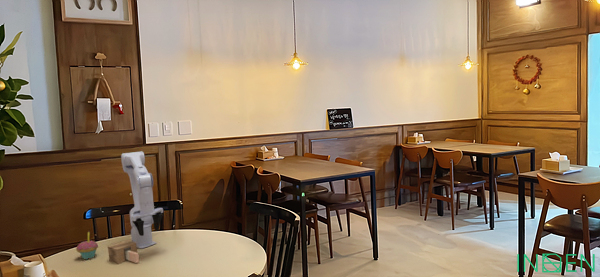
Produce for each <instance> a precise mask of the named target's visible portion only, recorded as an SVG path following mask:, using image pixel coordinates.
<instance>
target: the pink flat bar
mask: <svg viewBox="0 0 600 277" xmlns="http://www.w3.org/2000/svg"><path fill="white" fill-rule="evenodd" d="M124 256H125V261H129V262H132V263H135V264H138V263H139V262H140V259H139V257H140V256H139V253H138V252H137V253H136V252H133V251H129V250H127V251H124Z"/></svg>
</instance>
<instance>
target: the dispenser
mask: <svg viewBox="0 0 600 277" xmlns="http://www.w3.org/2000/svg"><path fill="white" fill-rule="evenodd" d="M137 249H138V247H137V245H136V243H135V242H132V240H128V239H126V240H123V241H120V242H118V243H115V244H112V245H111V244H110V245H108V246H107V252H108V261H109V262H112V263H116V264H117V265H119V264H122V263H125V262H126V259H125V256H124V251H127V250H129V251H133V252H136V253H138V250H137Z"/></svg>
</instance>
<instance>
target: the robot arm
mask: <svg viewBox="0 0 600 277" xmlns="http://www.w3.org/2000/svg"><path fill="white" fill-rule="evenodd" d="M120 158H121V166H122V170H123V172H124V173H126V174H127V175H128V177H129V182H130V187H131V193H132V199H133V205H134V206H133V207H132V208H131V209H130V210H129V221H130V227H131V229H130V236H131V237H130V239H131V241H132V242H135V243H136V245H137V249H145V248H148V247H150V246H153V245H156V244H157V242H156V241H153V233H152V225H153V228H154V231H160V225H161V221H162V218H163V216H164V214H163V213H164V209H163V207H157V208H155V205H154V204H155V203H154V192H153V187H154V179H153V178H154V177H153V174H152V172H149V171H148V169H147V167H146V166H145V164H146V163H145V162H146V159H145V153H144V151H143V150H141V151H135V152H125V153H124V152H122V154H121V155H120Z"/></svg>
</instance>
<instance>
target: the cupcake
mask: <svg viewBox="0 0 600 277" xmlns="http://www.w3.org/2000/svg"><path fill="white" fill-rule="evenodd" d="M98 248H99V246H98V243H97V241H94V240H90V231H88V232H87V240H85V241H82V242H80V243H79V244H77V246H76V248H75V250H76V253H77V252H78V253H79V254H80V256H81V257H82V259H83V258H84V259H83V260H89V259H88V258H90V259H92V257H93V258H94V257H95V255H96V252H97V249H98Z"/></svg>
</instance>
